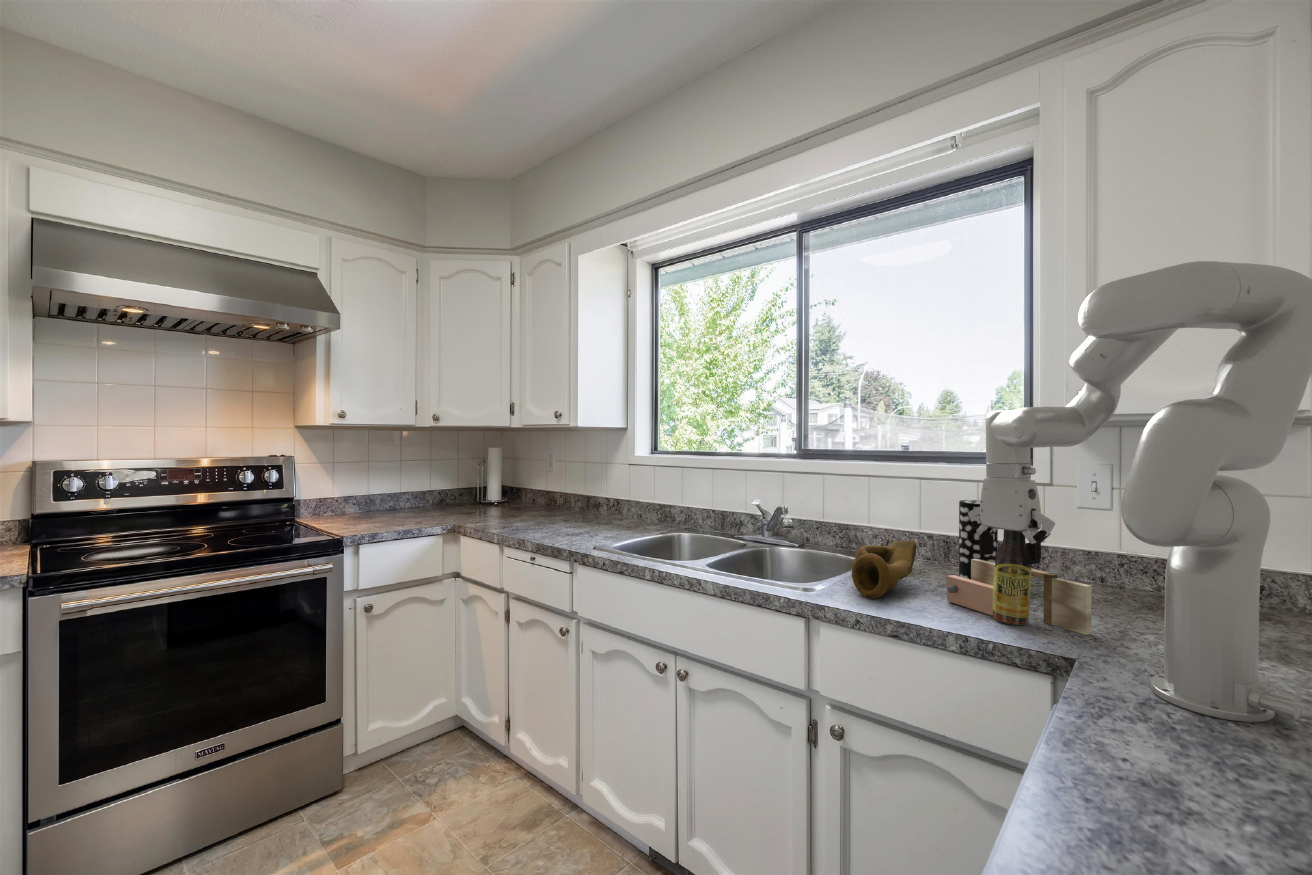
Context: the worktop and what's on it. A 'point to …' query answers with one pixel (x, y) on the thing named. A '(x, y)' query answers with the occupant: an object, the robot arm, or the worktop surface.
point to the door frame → (1051, 597)
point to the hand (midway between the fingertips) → (1009, 558)
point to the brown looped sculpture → (882, 567)
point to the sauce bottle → (1012, 581)
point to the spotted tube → (971, 539)
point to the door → (970, 594)
